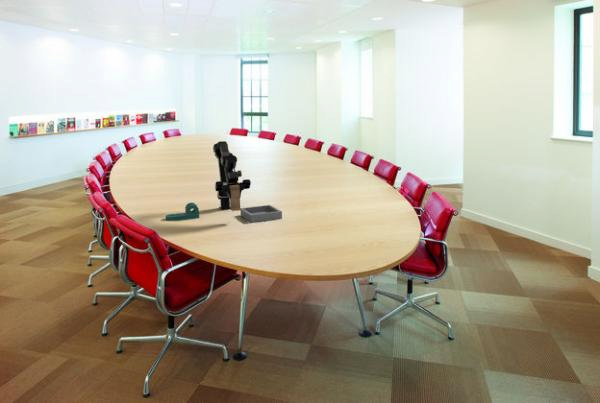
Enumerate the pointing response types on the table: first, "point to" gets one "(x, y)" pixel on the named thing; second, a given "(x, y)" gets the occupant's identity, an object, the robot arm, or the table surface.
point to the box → (261, 213)
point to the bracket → (187, 214)
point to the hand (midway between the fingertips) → (235, 198)
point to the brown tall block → (235, 197)
